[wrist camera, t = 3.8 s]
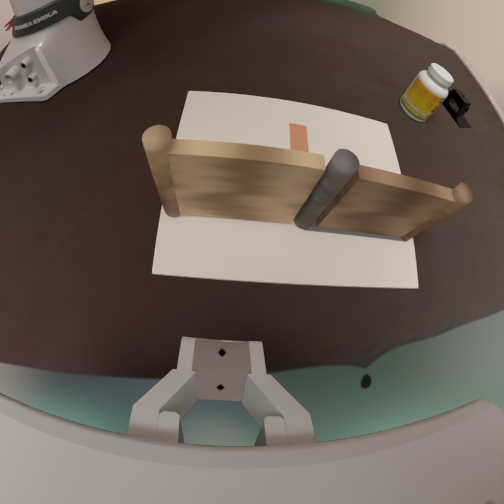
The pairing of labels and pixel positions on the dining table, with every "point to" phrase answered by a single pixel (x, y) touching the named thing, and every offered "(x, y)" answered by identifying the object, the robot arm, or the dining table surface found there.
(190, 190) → the folding fence section
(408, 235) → the fixed fence section
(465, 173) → the dining table surface
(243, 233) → the card
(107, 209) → the dining table surface
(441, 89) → the supplement bottle
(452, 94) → the black blocky piece
